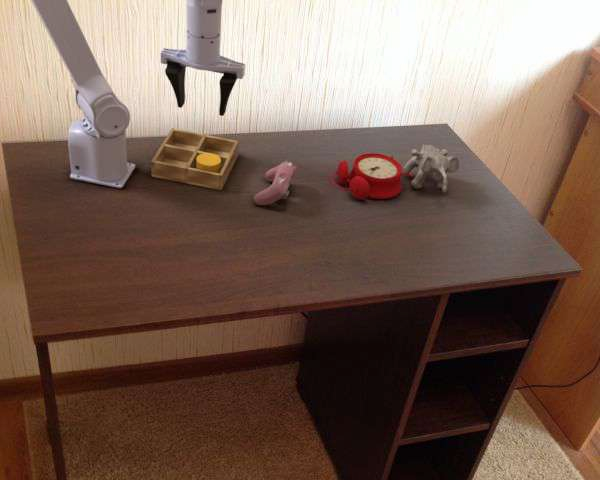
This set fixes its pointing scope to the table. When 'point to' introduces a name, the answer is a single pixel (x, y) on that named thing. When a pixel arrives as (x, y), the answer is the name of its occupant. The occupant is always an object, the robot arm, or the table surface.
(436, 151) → the gray elephant figurine
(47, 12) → the robot arm
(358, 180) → the alarm clock
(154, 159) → the grid
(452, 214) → the table surface
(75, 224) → the table surface
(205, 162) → the yellow cylinder
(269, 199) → the pink curved piece
